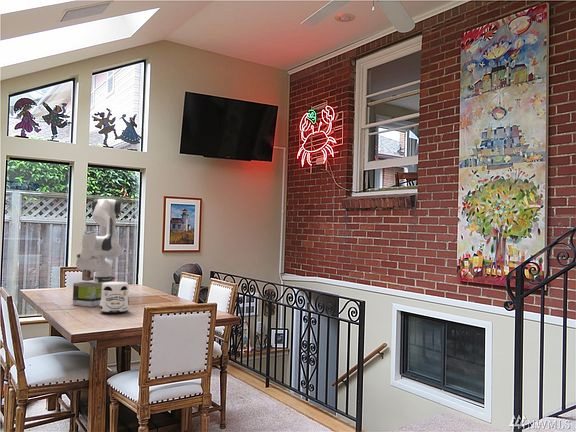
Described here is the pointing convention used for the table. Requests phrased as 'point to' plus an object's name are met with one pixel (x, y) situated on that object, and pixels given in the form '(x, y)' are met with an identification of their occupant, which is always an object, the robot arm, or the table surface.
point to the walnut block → (87, 276)
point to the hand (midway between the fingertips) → (87, 276)
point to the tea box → (87, 294)
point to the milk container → (114, 297)
